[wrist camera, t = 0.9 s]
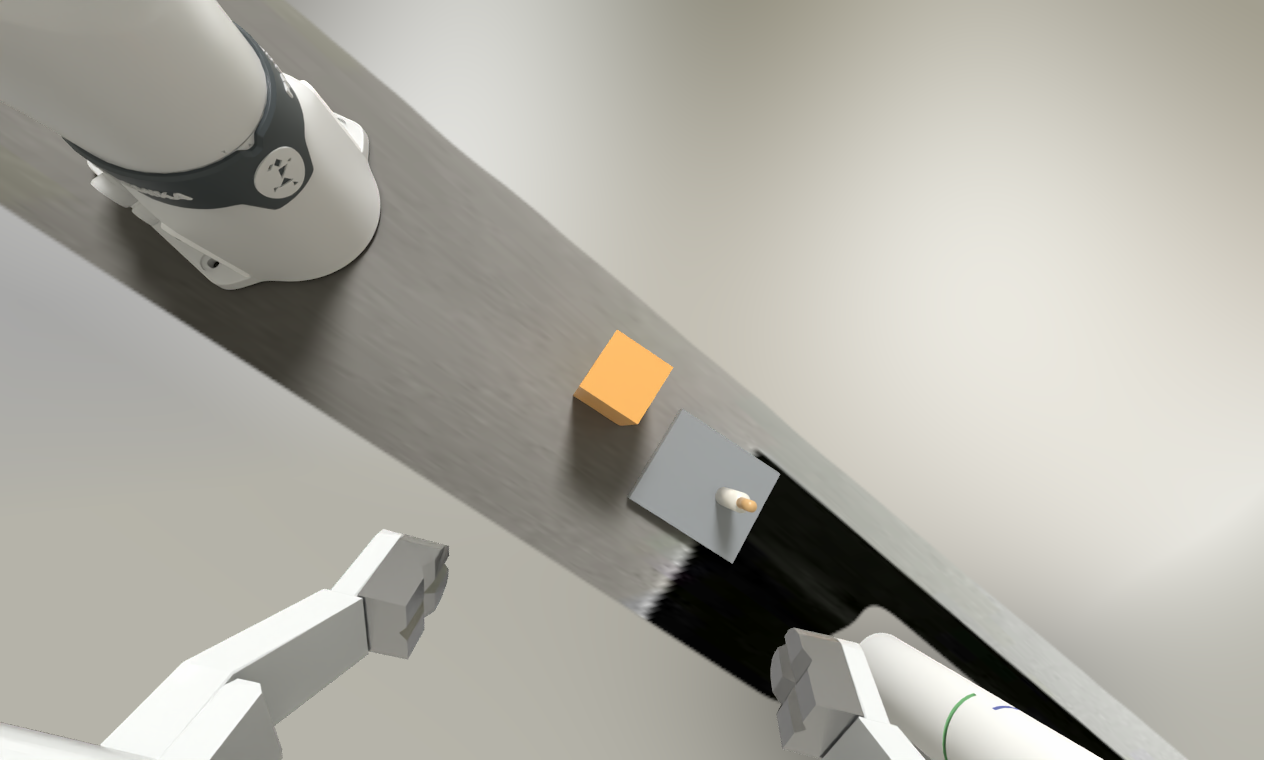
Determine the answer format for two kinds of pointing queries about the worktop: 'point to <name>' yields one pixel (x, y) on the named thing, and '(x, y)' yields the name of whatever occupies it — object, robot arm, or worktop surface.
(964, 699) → the cylindrical container
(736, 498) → the tan-tipped white capsule
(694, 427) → the plate
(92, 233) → the worktop surface
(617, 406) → the orange rectangular block
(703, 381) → the worktop surface
